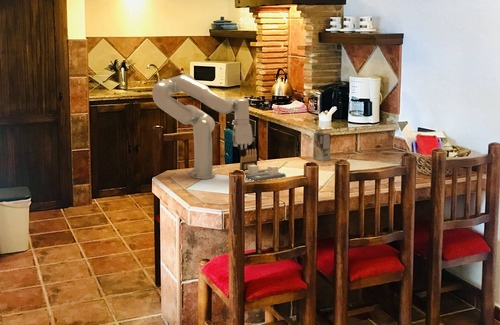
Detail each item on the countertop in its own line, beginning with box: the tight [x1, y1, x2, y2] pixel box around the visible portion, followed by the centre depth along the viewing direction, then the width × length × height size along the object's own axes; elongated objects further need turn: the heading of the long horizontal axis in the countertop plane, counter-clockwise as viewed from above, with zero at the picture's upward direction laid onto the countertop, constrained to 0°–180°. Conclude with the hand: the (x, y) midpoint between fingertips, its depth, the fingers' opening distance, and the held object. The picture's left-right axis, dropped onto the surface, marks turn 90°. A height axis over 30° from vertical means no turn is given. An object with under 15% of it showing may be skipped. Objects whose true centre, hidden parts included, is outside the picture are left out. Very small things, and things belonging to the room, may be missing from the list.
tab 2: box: [267, 164, 279, 175], centre depth 352 cm, size 4×4×4 cm
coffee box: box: [312, 131, 332, 162], centre depth 395 cm, size 9×6×16 cm
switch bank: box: [244, 168, 287, 182], centre depth 353 cm, size 20×14×2 cm
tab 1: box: [247, 164, 259, 175], centre depth 353 cm, size 4×4×4 cm
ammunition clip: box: [239, 147, 258, 172], centre depth 367 cm, size 11×2×12 cm, turn 123°
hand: (242, 156), depth 347 cm, fingers closed
